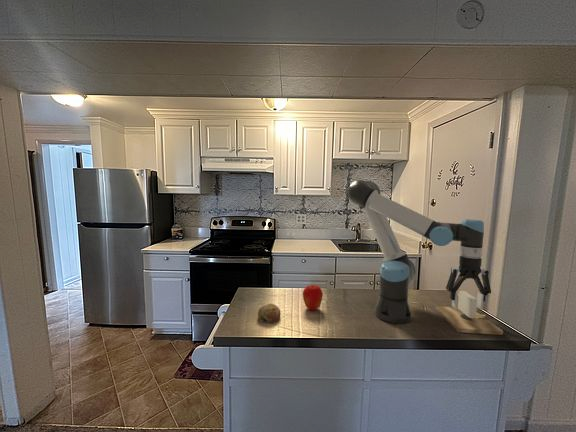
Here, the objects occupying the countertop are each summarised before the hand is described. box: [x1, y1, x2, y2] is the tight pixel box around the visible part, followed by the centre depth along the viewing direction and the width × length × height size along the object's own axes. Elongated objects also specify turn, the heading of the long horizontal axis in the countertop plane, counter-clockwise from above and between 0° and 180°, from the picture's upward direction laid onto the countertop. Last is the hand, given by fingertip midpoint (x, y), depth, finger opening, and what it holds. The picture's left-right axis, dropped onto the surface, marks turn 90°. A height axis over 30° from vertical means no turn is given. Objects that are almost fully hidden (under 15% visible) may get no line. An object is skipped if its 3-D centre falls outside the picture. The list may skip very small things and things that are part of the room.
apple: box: [302, 284, 324, 312], centre depth 119 cm, size 9×9×12 cm
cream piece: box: [457, 290, 487, 320], centre depth 109 cm, size 10×9×10 cm
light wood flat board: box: [435, 305, 504, 336], centre depth 110 cm, size 16×20×2 cm
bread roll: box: [257, 303, 281, 324], centre depth 111 cm, size 10×10×8 cm
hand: (466, 307), depth 109 cm, fingers open, 9 cm apart
